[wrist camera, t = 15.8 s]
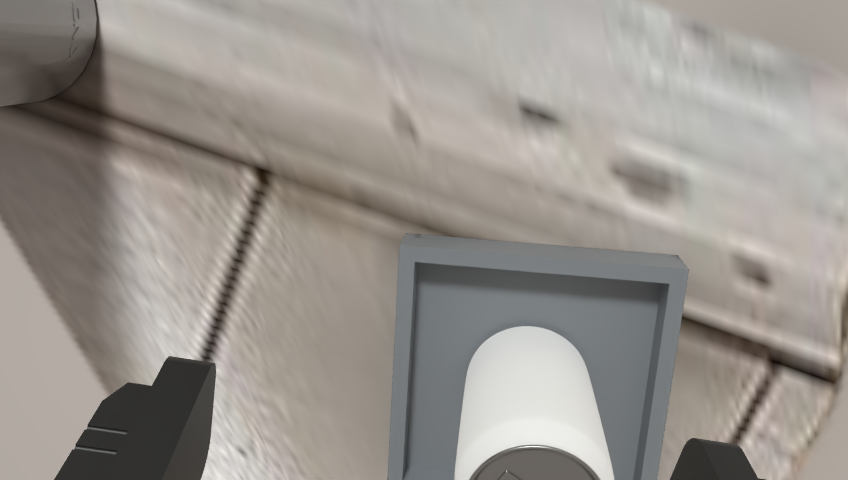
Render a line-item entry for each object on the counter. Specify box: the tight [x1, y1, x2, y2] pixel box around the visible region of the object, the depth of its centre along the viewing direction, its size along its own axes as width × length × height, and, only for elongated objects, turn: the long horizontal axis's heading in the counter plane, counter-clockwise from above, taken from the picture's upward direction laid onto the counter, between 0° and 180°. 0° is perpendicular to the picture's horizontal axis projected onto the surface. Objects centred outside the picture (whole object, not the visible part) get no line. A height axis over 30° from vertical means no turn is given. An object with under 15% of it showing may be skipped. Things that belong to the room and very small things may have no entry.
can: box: [454, 326, 614, 480], centre depth 35 cm, size 6×6×12 cm
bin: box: [387, 233, 689, 480], centre depth 40 cm, size 14×14×2 cm
